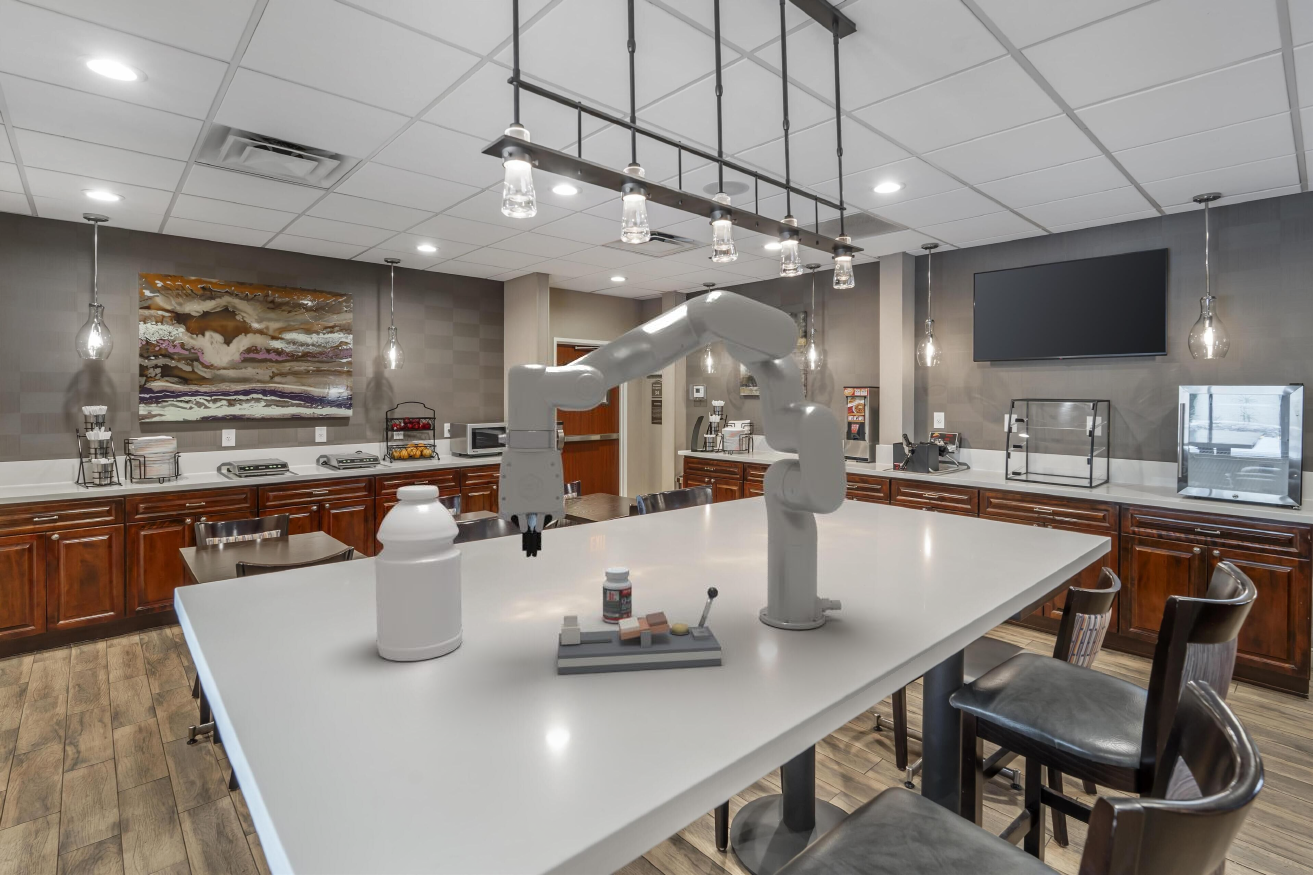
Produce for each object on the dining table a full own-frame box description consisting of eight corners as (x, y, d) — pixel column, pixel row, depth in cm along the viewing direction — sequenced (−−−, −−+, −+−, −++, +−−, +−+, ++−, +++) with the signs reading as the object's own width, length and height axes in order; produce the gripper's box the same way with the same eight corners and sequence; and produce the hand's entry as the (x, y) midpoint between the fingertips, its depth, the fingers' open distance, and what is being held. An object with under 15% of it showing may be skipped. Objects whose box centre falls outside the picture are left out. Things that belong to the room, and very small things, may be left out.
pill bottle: (627, 625, 121) (627, 574, 120) (599, 623, 122) (599, 572, 121) (634, 615, 126) (634, 566, 126) (607, 614, 127) (607, 565, 127)
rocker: (665, 619, 107) (663, 610, 107) (670, 630, 102) (668, 620, 102) (619, 628, 106) (617, 619, 106) (621, 639, 101) (620, 630, 101)
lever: (703, 628, 107) (718, 587, 107) (705, 632, 105) (720, 590, 105) (693, 625, 106) (708, 584, 106) (695, 629, 105) (710, 587, 105)
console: (707, 642, 111) (707, 611, 111) (721, 665, 101) (721, 631, 101) (559, 650, 108) (559, 618, 107) (557, 675, 98) (557, 639, 97)
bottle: (478, 638, 114) (476, 484, 113) (427, 667, 101) (424, 493, 100) (414, 629, 118) (412, 481, 117) (357, 656, 105) (354, 490, 104)
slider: (579, 638, 104) (579, 613, 104) (580, 643, 102) (579, 618, 102) (561, 639, 104) (561, 614, 104) (561, 644, 101) (561, 618, 101)
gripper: (480, 442, 96) (481, 561, 97) (579, 442, 98) (578, 559, 99) (487, 440, 103) (487, 551, 104) (578, 441, 105) (578, 549, 106)
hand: (531, 555), depth 101 cm, fingers closed
